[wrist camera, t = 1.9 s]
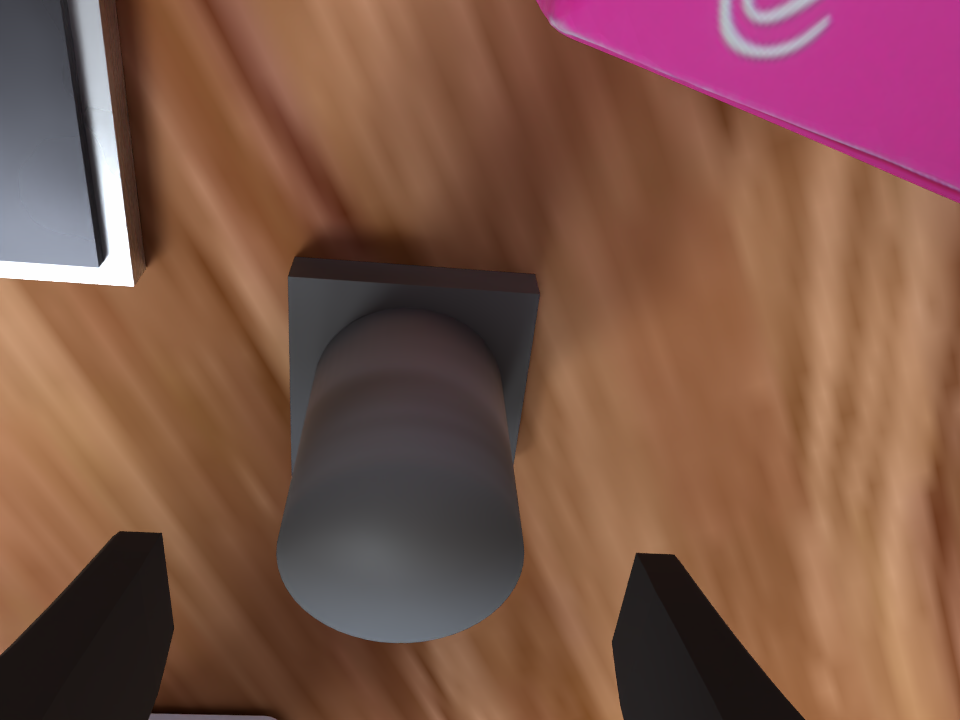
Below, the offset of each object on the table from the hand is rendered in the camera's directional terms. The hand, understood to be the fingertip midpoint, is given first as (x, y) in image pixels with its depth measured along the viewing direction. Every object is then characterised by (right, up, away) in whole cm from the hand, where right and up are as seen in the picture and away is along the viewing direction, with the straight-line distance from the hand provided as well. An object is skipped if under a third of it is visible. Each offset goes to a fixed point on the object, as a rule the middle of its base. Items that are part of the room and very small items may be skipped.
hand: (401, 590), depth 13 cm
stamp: (0, +3, +6) cm, 7 cm away
